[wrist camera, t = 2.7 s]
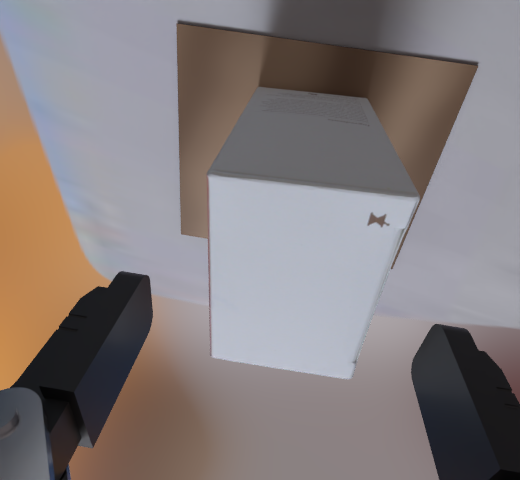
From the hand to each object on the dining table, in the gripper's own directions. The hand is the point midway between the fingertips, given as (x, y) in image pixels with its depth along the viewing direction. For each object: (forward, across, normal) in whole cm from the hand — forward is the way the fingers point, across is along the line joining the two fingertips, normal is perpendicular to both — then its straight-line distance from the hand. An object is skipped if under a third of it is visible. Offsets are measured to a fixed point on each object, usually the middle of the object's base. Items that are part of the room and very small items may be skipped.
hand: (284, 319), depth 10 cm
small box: (+12, 0, 0) cm, 12 cm away
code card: (+12, 0, 0) cm, 12 cm away
